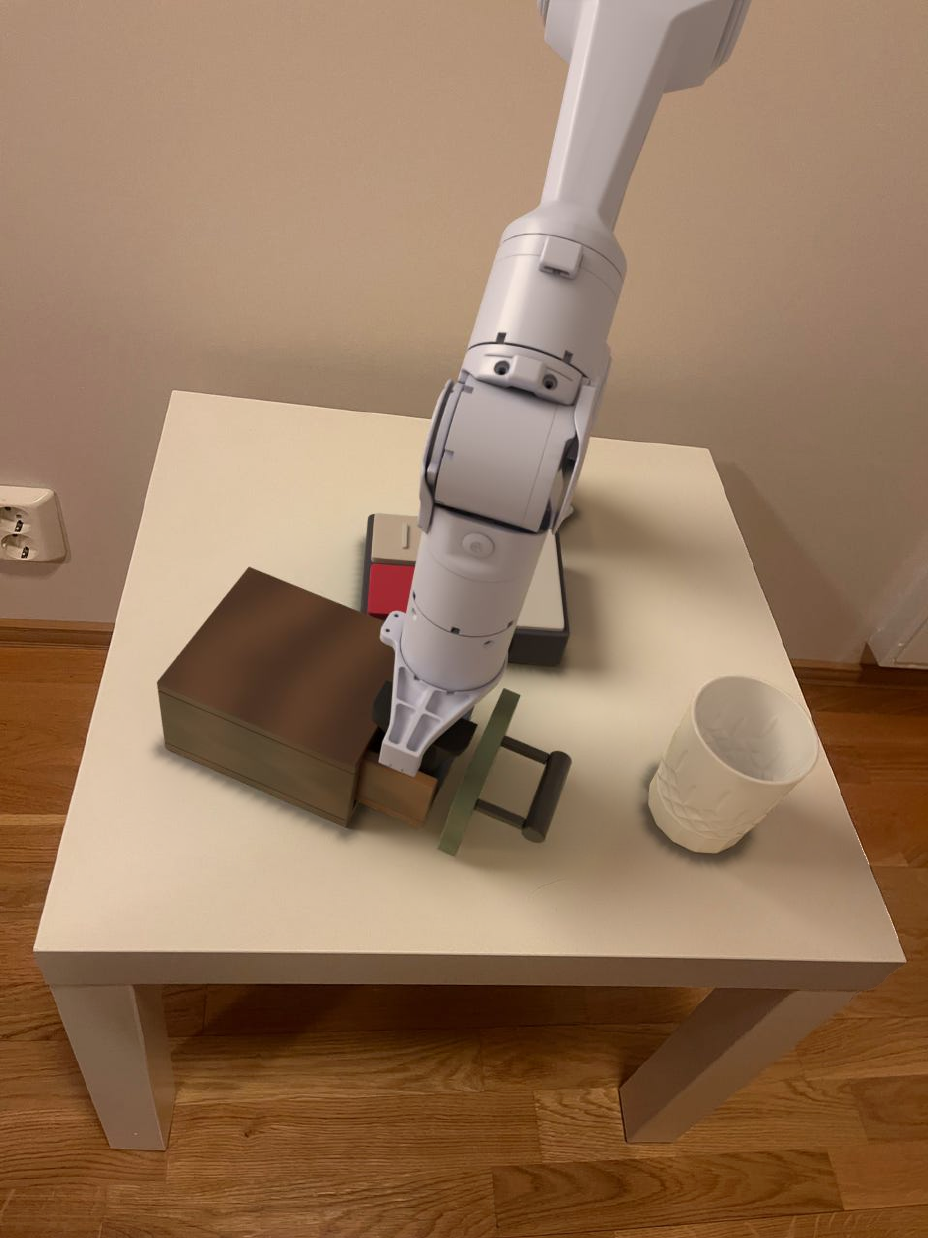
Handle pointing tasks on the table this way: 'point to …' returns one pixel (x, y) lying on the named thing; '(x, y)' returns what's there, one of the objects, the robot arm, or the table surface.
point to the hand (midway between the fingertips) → (428, 740)
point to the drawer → (466, 784)
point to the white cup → (731, 762)
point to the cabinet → (279, 693)
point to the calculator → (393, 571)
